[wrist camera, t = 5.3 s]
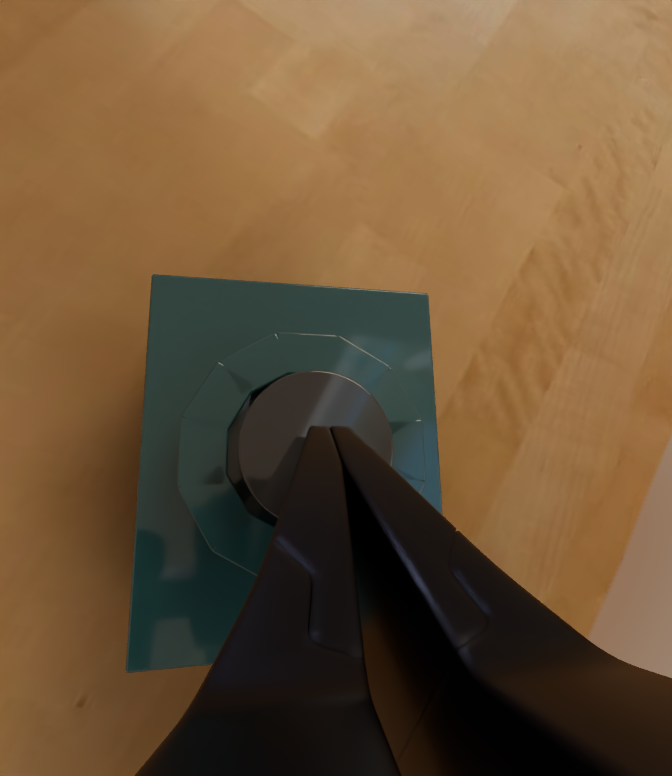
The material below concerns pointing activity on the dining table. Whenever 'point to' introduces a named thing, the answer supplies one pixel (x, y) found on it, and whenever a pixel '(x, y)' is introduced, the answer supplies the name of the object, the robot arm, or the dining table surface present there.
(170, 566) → the teal push button box
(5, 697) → the dining table surface
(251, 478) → the dark brown button
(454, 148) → the dining table surface
